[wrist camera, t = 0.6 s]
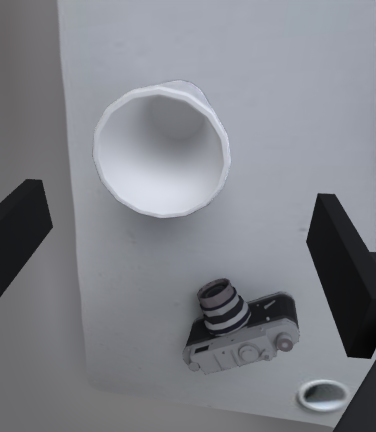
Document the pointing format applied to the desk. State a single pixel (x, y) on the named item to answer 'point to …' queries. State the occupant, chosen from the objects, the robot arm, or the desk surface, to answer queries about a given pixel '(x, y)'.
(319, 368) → the desk surface
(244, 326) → the camera
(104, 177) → the cup
